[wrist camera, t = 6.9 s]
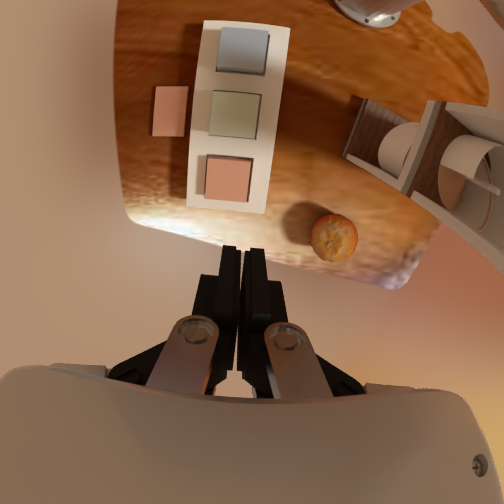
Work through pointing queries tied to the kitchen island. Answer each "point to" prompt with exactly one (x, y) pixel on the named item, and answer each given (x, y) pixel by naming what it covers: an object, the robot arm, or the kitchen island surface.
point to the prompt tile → (170, 111)
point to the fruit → (334, 237)
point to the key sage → (234, 114)
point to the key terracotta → (227, 178)
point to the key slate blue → (242, 50)
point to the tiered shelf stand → (441, 165)
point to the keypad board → (255, 148)
